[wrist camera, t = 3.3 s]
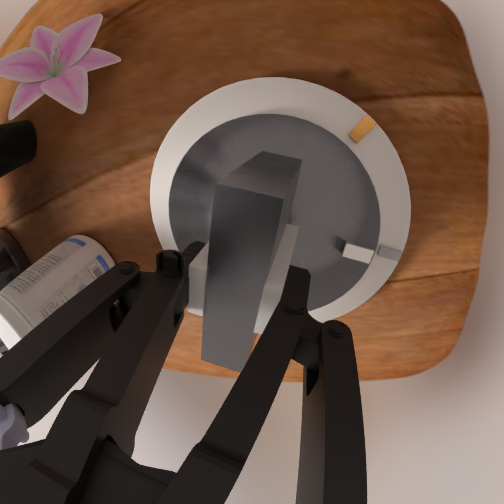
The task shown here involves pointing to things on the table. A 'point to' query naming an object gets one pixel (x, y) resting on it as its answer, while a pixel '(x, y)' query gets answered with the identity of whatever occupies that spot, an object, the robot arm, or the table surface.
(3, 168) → the cup
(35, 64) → the lily
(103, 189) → the table surface
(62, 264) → the supplement tub
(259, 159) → the dial
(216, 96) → the dial base
